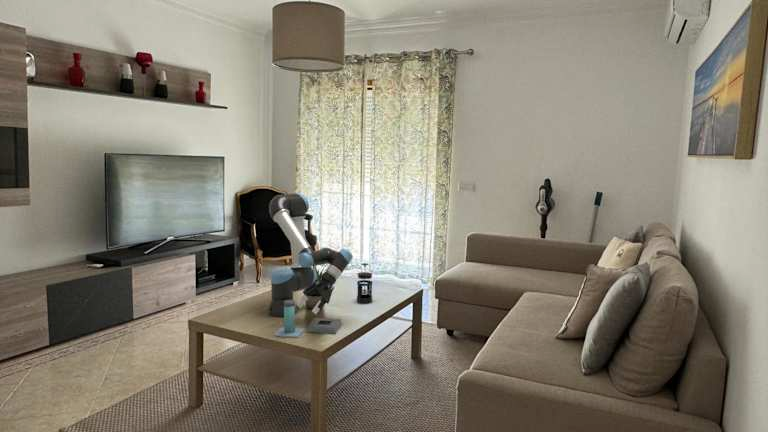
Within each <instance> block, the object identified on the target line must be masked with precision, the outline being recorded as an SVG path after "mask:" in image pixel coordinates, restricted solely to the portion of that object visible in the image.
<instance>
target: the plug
mask: <svg viewBox="0 0 768 432" xmlns="http://www.w3.org/2000/svg"><path fill="white" fill-rule="evenodd" d="M294 302H295V299H294V300H286V301H284V318H283V320H284V322H283V324H284V326H283V327H284V331H285V333H293V332H295V328H296V323H295V322H296V320H295V319H296V317H295V315H296V314H295V306H294Z"/></svg>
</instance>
